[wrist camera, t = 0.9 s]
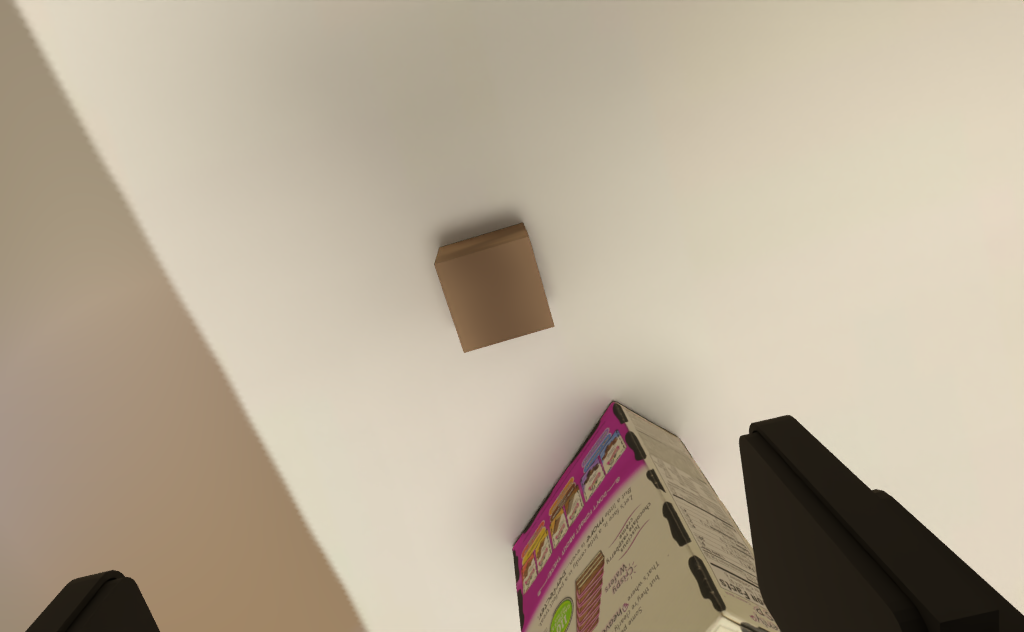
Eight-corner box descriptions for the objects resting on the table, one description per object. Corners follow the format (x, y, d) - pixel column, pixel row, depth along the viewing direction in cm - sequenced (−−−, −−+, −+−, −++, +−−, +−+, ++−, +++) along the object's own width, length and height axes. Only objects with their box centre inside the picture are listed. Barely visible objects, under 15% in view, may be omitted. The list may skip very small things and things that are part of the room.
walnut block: (522, 222, 32) (528, 236, 29) (545, 302, 34) (554, 326, 30) (439, 247, 33) (434, 264, 29) (465, 326, 34) (463, 352, 30)
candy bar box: (581, 580, 39) (649, 893, 23) (509, 547, 38) (531, 849, 22) (687, 435, 36) (844, 676, 21) (613, 395, 35) (719, 617, 20)
